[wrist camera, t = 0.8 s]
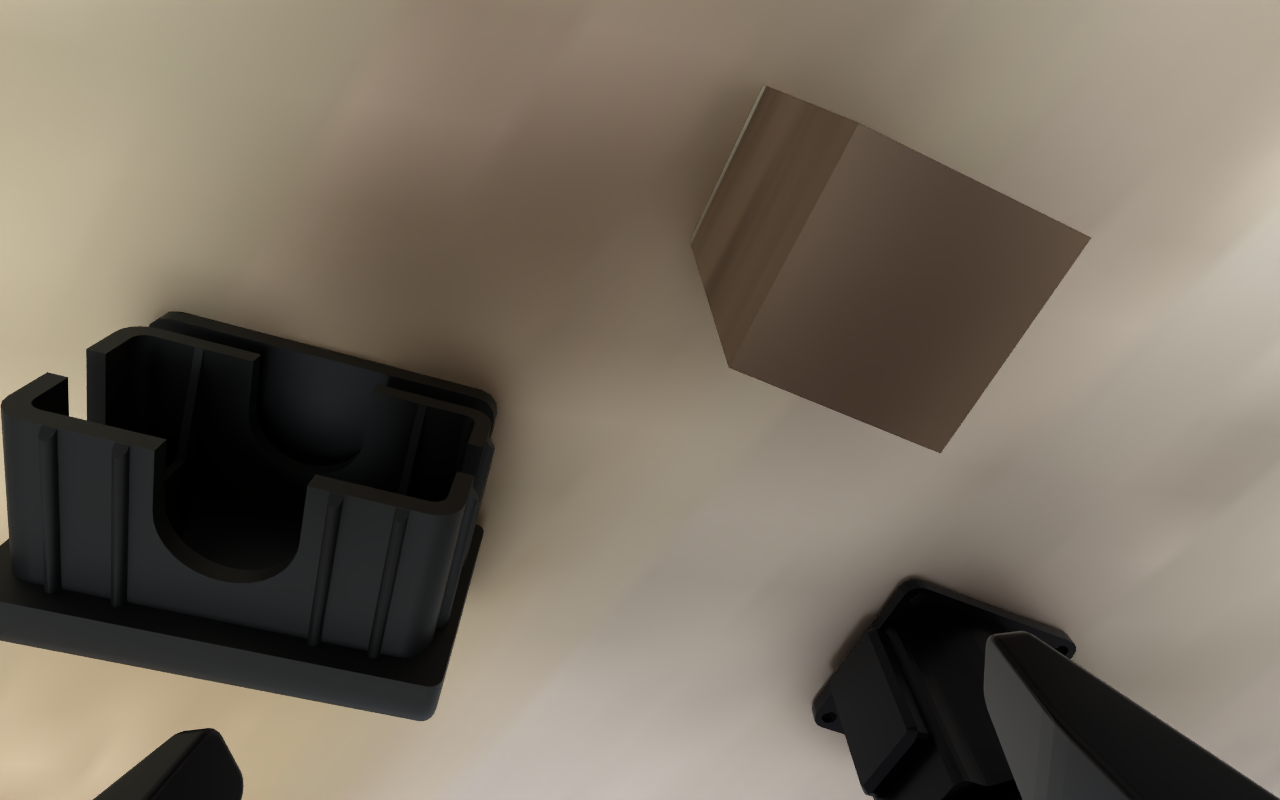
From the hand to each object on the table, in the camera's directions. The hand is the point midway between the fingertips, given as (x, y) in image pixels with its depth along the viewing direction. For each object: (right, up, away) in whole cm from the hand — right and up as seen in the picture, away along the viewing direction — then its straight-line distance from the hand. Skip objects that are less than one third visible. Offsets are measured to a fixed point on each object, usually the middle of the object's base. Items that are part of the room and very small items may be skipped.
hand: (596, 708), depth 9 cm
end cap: (-9, +2, +13) cm, 16 cm away
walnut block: (+4, +9, +10) cm, 14 cm away
